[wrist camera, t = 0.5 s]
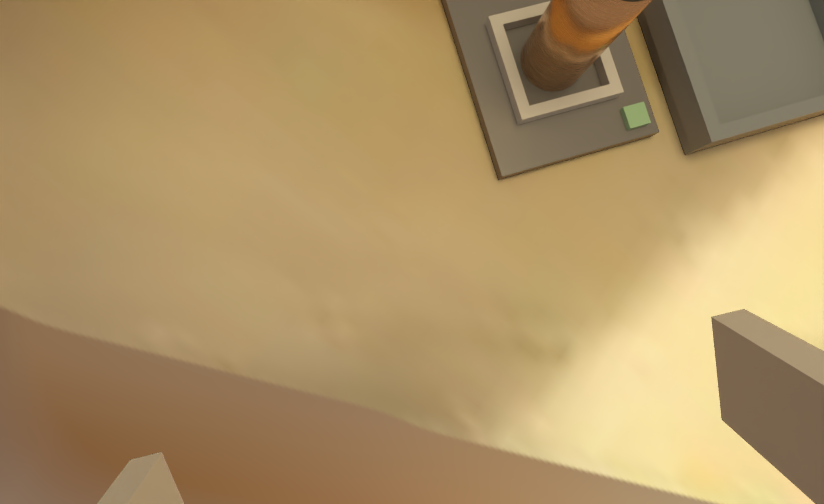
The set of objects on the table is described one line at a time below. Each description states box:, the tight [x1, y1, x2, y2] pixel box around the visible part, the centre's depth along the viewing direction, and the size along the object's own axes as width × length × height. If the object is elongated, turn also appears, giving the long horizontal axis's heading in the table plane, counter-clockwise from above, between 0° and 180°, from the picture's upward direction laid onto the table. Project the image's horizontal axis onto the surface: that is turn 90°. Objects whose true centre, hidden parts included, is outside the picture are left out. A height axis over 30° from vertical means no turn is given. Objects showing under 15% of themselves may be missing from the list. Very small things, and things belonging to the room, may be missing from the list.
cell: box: [521, 0, 652, 92], centre depth 30 cm, size 4×4×13 cm
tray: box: [637, 0, 824, 155], centre depth 37 cm, size 14×14×3 cm
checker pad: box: [442, 0, 659, 180], centre depth 37 cm, size 14×12×2 cm
